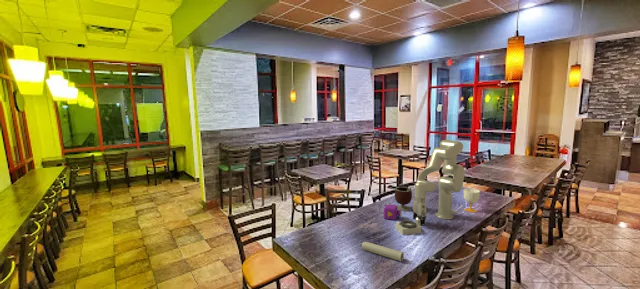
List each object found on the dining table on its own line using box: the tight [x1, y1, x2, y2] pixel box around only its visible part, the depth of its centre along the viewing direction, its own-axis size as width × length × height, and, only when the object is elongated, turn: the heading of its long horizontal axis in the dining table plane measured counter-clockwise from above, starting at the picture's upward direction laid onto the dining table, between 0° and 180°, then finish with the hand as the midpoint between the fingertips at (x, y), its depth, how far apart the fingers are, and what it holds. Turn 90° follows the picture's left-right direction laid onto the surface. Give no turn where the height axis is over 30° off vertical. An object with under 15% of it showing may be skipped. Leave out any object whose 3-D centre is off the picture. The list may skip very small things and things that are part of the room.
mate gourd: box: [394, 185, 415, 212], centre depth 231 cm, size 16×14×20 cm
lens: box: [415, 214, 423, 227], centre depth 201 cm, size 5×5×6 cm
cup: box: [463, 187, 481, 214], centre depth 224 cm, size 12×12×17 cm
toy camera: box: [383, 203, 403, 221], centre depth 213 cm, size 11×14×10 cm
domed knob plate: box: [395, 219, 422, 236], centre depth 191 cm, size 14×10×6 cm
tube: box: [361, 241, 405, 263], centre depth 162 cm, size 5×5×25 cm
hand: (418, 221), depth 201 cm, fingers open, 9 cm apart
